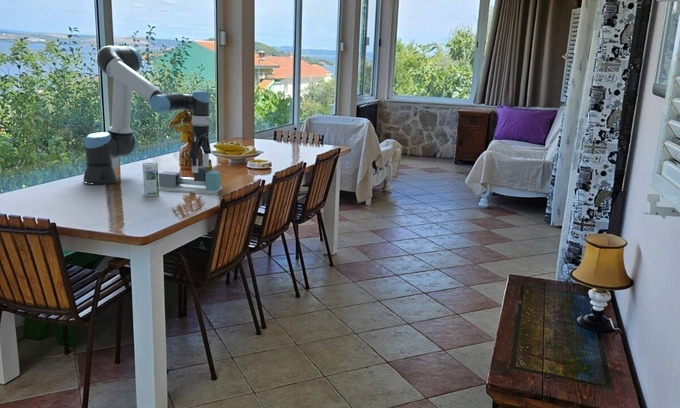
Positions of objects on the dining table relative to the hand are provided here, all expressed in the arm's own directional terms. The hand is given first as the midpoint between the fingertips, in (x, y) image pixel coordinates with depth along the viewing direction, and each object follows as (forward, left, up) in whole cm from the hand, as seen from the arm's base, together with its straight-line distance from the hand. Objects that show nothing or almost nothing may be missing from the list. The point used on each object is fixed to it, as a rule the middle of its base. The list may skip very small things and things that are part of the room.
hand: (200, 169), depth 279 cm
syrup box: (-17, -16, -10) cm, 25 cm away
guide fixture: (-5, 0, -10) cm, 11 cm away
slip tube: (-3, 0, -7) cm, 8 cm away
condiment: (-4, +14, -10) cm, 18 cm away
